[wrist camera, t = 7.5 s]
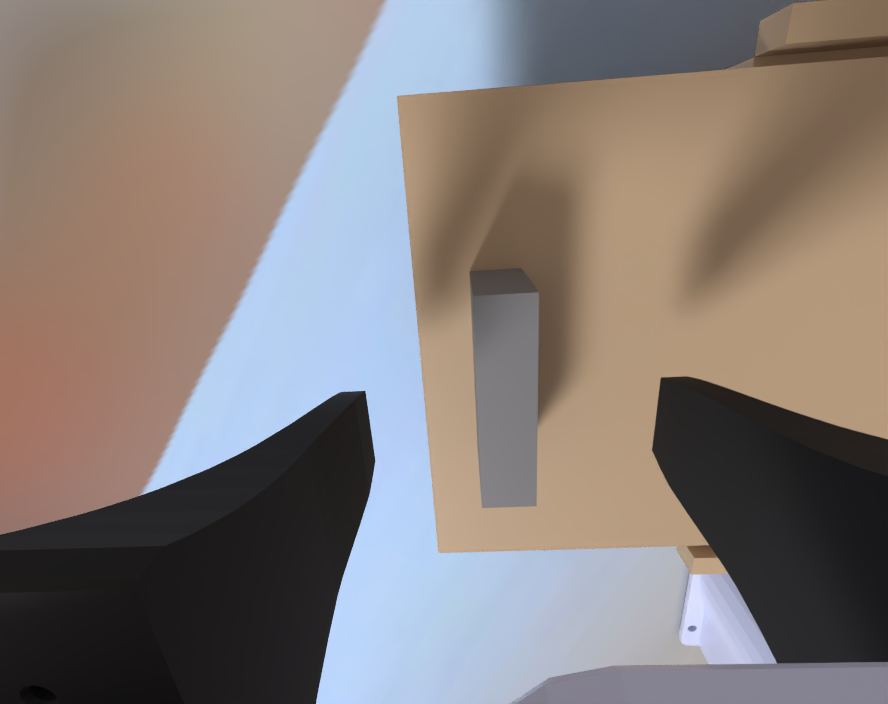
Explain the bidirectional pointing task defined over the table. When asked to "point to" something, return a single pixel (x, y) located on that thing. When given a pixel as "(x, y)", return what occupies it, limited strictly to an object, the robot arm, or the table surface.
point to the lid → (637, 282)
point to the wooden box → (794, 42)
